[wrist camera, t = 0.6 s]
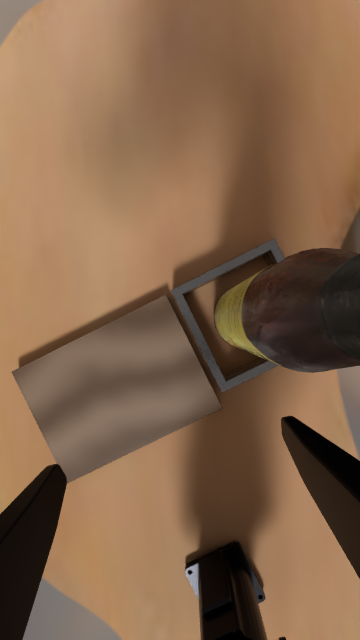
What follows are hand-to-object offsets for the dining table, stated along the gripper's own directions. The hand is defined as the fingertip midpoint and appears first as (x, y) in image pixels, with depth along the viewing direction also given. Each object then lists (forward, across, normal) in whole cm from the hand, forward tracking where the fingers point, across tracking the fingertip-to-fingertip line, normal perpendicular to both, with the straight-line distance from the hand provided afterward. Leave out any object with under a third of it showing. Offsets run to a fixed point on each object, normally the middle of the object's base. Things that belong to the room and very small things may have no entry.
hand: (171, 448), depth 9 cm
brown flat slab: (+14, +7, +6) cm, 16 cm away
